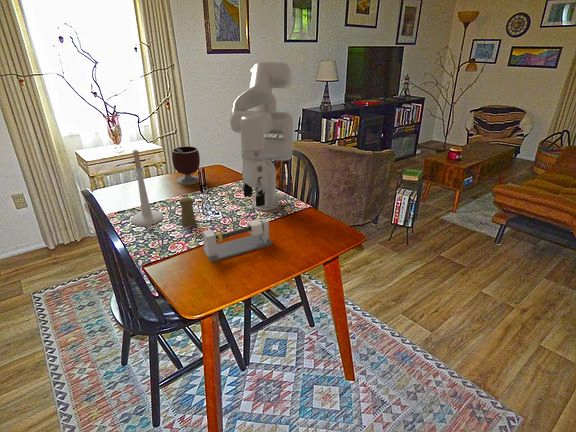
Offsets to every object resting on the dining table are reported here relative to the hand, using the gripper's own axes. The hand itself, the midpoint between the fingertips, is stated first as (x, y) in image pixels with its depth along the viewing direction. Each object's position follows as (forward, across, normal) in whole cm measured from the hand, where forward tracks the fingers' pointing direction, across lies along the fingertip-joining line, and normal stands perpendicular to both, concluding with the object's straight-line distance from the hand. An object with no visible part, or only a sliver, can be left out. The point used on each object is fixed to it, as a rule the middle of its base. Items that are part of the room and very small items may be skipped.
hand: (254, 200), depth 125 cm
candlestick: (+18, +40, +31) cm, 54 cm away
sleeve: (+13, 0, 0) cm, 13 cm away
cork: (+18, +28, +17) cm, 37 cm away
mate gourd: (+17, +76, +3) cm, 78 cm away
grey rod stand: (+18, 0, +7) cm, 19 cm away
